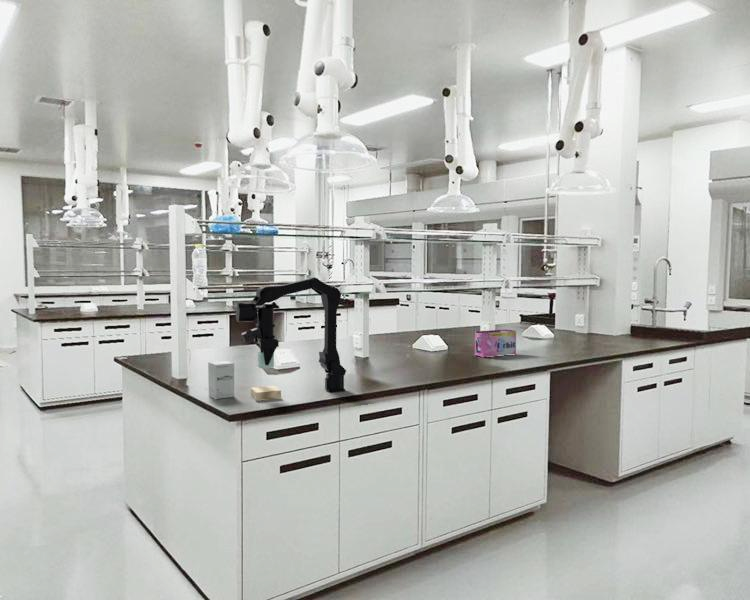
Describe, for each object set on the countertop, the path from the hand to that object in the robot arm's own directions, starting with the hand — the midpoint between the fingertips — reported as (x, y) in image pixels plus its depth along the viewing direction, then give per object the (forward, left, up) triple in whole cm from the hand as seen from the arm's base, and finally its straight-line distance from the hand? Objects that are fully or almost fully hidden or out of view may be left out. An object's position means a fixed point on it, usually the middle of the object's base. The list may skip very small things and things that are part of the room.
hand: (265, 364), depth 201 cm
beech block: (0, 0, -13) cm, 13 cm away
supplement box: (+15, -7, -12) cm, 21 cm away
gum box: (-132, -56, -13) cm, 144 cm away
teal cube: (0, 0, -1) cm, 1 cm away
